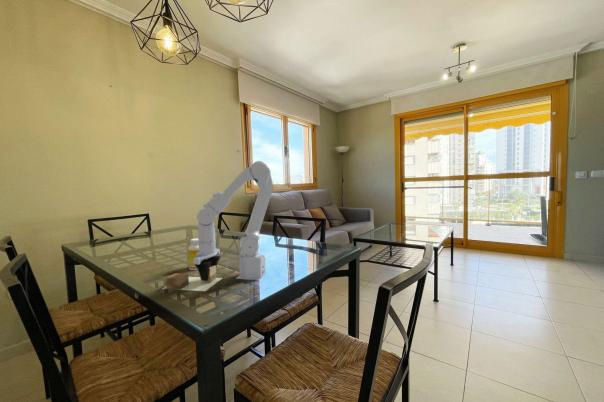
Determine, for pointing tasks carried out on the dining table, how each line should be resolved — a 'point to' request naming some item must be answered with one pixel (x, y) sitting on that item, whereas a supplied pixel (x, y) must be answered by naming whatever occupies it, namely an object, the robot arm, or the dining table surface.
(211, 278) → the maple pillar
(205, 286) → the cream flat slab
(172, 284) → the walnut base
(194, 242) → the supplement bottle
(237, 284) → the dining table surface
